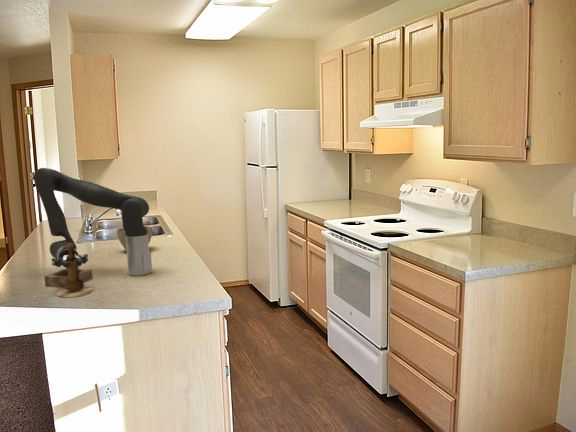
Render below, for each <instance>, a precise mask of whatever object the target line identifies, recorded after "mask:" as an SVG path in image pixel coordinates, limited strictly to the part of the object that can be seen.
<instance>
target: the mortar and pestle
mask: <svg viewBox="0 0 576 432" xmlns="http://www.w3.org/2000/svg"><path fill="white" fill-rule="evenodd" d="M74 243H75V242H74ZM74 243H72V242H71V243H68V244H67V249H68V250H69V254H68V256H69V259H70V260H67V263H68V268H67V270H68V281H67V282H66V283H65V287H64V289H66V290H70V291H72V290H79V289H82V288H83V287H84V286H85V285H84V282H83V281H82V280H81V279H79V271H78V269H79V266H78V260H77V259H74V256H75V254H74V253H73V251H74V248H75V244H76V243H75V244H74Z"/></svg>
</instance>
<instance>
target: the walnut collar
mask: <svg viewBox="0 0 576 432" xmlns="http://www.w3.org/2000/svg"><path fill="white" fill-rule="evenodd" d="M78 271H79V279H81V280H82V281H83V283H86V282H87V281H90V280H92V279H93V269H90V268H86V269H85V268H78ZM67 281H68V270H67V268H66V267H65V268H64V269H60V270H58V271H56V272H53V273H50V274H47V275H45V276H44V284H45V287H57V288H65V283H66V282H67Z"/></svg>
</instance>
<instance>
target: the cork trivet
mask: <svg viewBox="0 0 576 432" xmlns="http://www.w3.org/2000/svg"><path fill="white" fill-rule="evenodd" d="M92 291H93V292H94V288H93V287H91V286H87V285H84V287H83V288H82V289H79V290H72V291H70V290H66V289H65V288H63V289H60V290H58V291H57V292H56V296H57V297H58V296H59V297H58V298H67V299H68V298H69V299H70V298H77V297H78V298H79V297H84V296H86V295H89V294H91V293H92Z"/></svg>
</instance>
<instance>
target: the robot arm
mask: <svg viewBox="0 0 576 432" xmlns="http://www.w3.org/2000/svg"><path fill="white" fill-rule="evenodd" d="M33 182H34V185H35V188H36V190H37V192H38V194H39V197H40V200H41V202H42V206H43V207H44V211H45V215H46V218H47V222H48V227H49V228H48V229H49V231H50V235H51V236H52V237H62V238H64V240H63V239H61V240H59V241H54V242H52V243H51V244H50V245H49V253H50V254H51V256H52V258H51V265H52V266H54V267H57V268H61V266H62V267H64V268H65V269H66V268H68V263H67V260H70V259H69V256H68V254H69V250H68V249H67V244H68V243H71V242H72V243H74V244H75V248H74V251H73V253H74V254H75V256H74V259H77V260H78V267H81V266H82V265H83V264H84V265H85V264H86V263H87V262H88V261H89V255H88V254H87V253H85V254H82V255H80V254H79V252H78V251H77V250H78V248H77V245H76V242H75V241H74V239H73V238H72V235H71V234H70V231H69V229H68V225H67V219H66V215H65V213H64V211H63V210H62V207H61V206H60V204H59V202H58V200H57V197H56V194H55V191H56V192H61V193H64V194H67V195H70V196H72V197H73V198H75V199H76V200H79V201H80V202H83V203H85V204H88V205H92V206H95V207H100V208H101V207H102V208H108V209H109V208H110V209H116V210H120V211H121V212H120V213H121V221H122V228H123V229H124V231H125V234H126V248H127V250H126V258H127V261H126V262H127V268H128V269H127V271H128V275H130V276H135V277H137V276H139V277H140V276H146V275H148V274H151V273H153V264H152V252H151V250H149V249H150V247H149V244H148V232H147V228H146V227H145V226H146V225H144V220H143V218H144V217H145V216H146V215H148V213H149V212H150V205H149V203H148V202H147V200H145V198H143V197H139V196H136V195H135V196H134V195H129V194H126V193H121V192H119V191H116V190H113V189H111V188H109V187H105V186H103V185H100V184H99V183H95V182H91V181H88V180H83V179H78V178H72V177H71V176H69V175H66V174H65V173H63V172H60V171H58V170H56V169H53V168H49V167H48V168H47V167H39V168H38V169H37V170H36V171H35V172H34V174H33Z"/></svg>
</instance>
